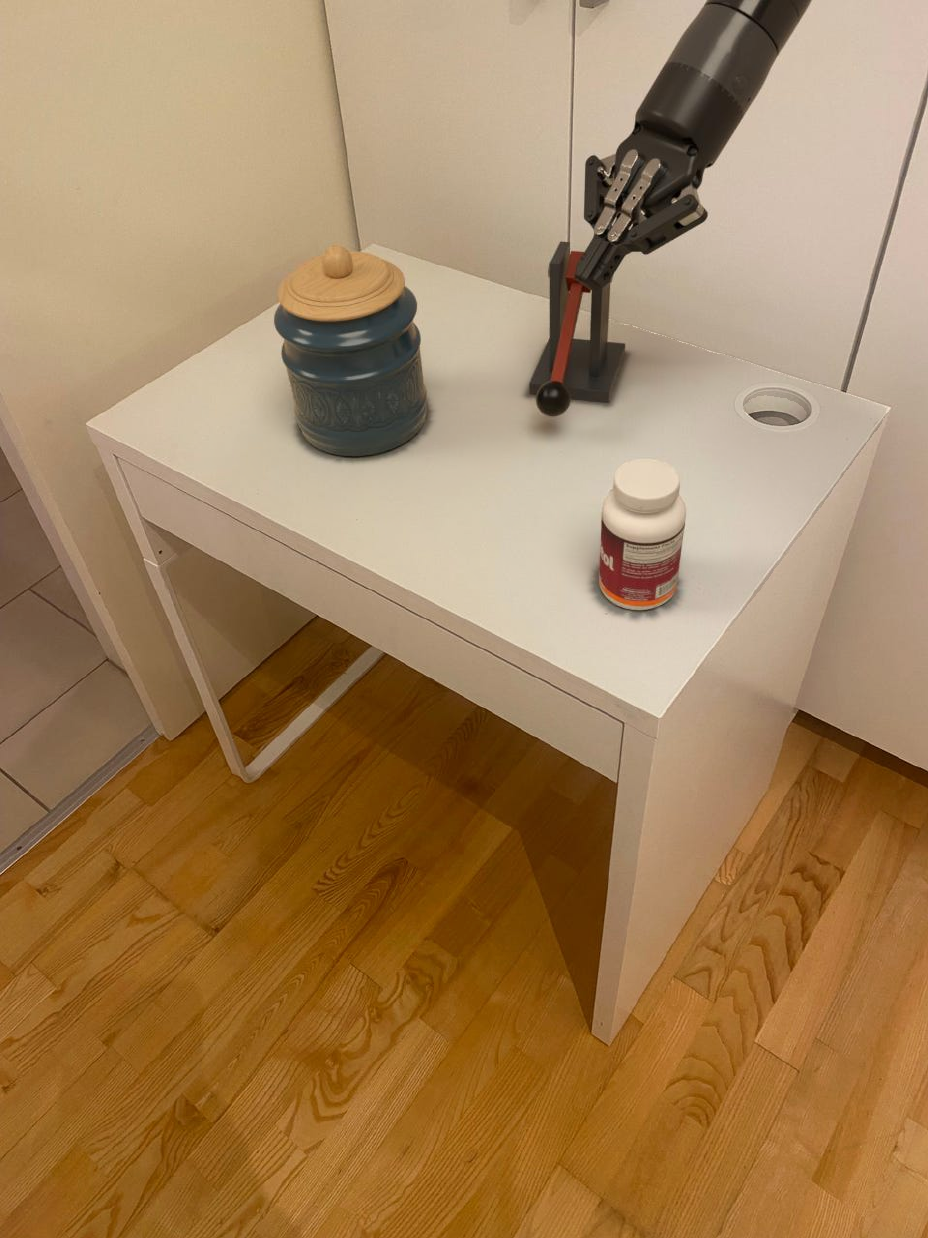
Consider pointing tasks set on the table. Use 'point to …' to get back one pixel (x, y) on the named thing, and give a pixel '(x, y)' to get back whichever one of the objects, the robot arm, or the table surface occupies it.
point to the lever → (563, 347)
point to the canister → (352, 352)
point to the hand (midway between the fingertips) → (585, 285)
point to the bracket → (580, 341)
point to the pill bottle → (642, 535)
